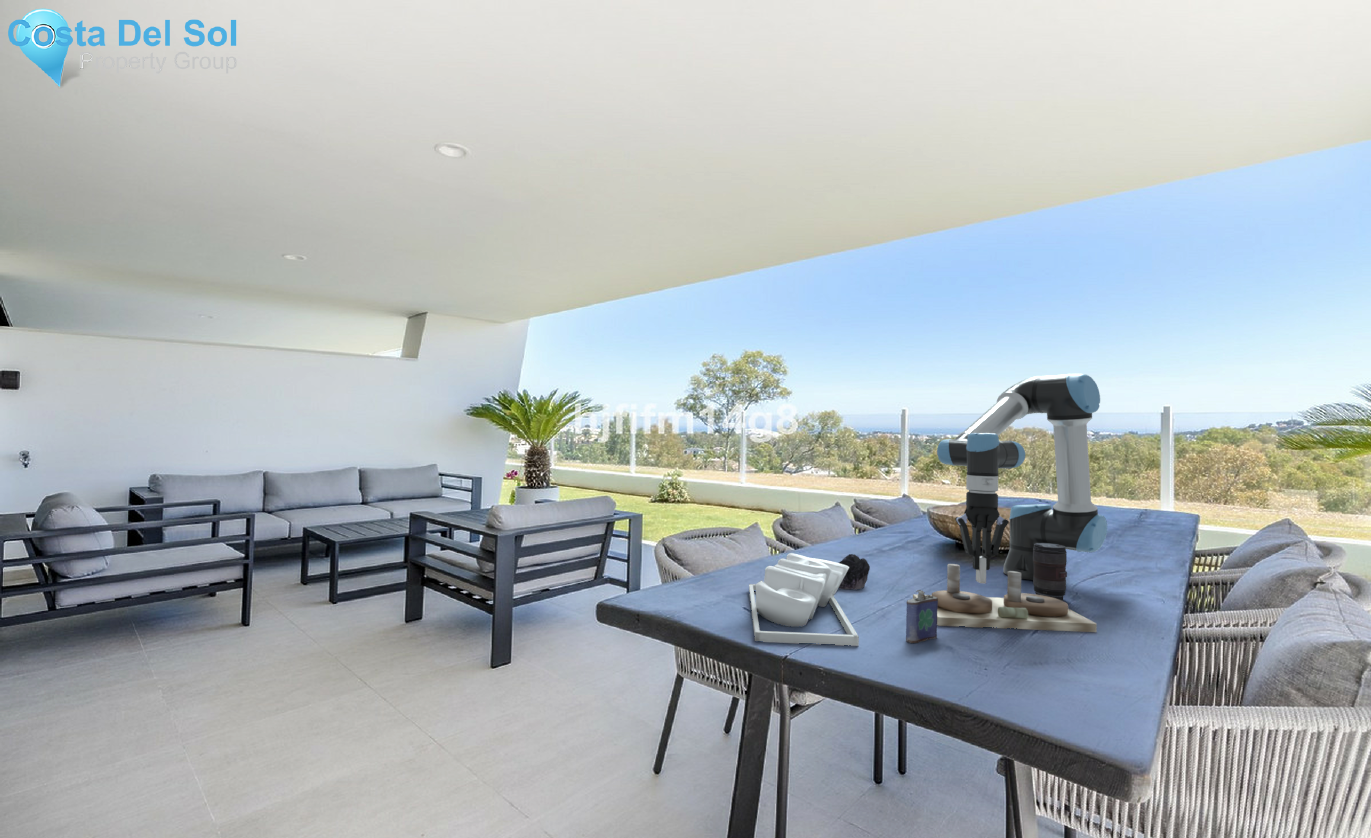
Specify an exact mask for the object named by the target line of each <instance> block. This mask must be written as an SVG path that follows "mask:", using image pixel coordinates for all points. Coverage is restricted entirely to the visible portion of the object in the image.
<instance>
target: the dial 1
mask: <svg viewBox="0 0 1371 838" xmlns="http://www.w3.org/2000/svg"><path fill="white" fill-rule="evenodd" d="M946 567H947V569H946V570H947V571H946V572H947V573H946V574H947V579H946V581H947V582H946V583H947V584H946V590H937V591H936V590H935V591H934V592H932V593H931V595H932V596H934V597H937V598H938V607H940V608H943V609H947V610H951V611H956V612H963V613H987V612H990V611H991V610H992V600H991V599H989V598H987V597H988V596H984V595H981V594H979V593H974V592H969V591H962V590H960V589H961V586H960V585H961V584H960V583H961V581H960V580H961V576H960V575H961V565H960V564H957V563H956V564H955V563H948V564H947V566H946Z"/></svg>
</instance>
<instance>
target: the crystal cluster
mask: <svg viewBox="0 0 1371 838" xmlns="http://www.w3.org/2000/svg"><path fill="white" fill-rule="evenodd" d="M838 563H840V564H843V565H846V566H848V567H849V569H848V571H847V573H846V575H845V576H844V578H843V580H842V582H841V584H840V586H839V587H838V588H839V589H838V590H857V589H860V590H862V589H864V588H865V586H866V583H867V582H868V575H869V573H870V570H871V567H870V564H869V563H868V560H867V559H866V558H864V557H862V558H860V557H859V556H858V555H856V554H853V553H851V554H847V556H845V557H844V558H842V560H840V561H839V562H838ZM863 587H864V588H863ZM861 588H862V589H861Z"/></svg>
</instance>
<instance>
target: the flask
mask: <svg viewBox="0 0 1371 838" xmlns="http://www.w3.org/2000/svg"><path fill="white" fill-rule="evenodd" d="M915 592H916V593H917V592H918V594H916V595H917V596H918V598H914V599H913V598H910V599H908V600H907V601H906V615H905V616H906V624H905V626H906V629H905V642H906V643H910V644H913V643H914V644H918V643H923V642H926V641H927V640H928V641H930V640H934V639H937V637H938V632H937V630H938V629H937V627H938V625H937V610H938V598H937V597H934V596H931V595H932V594H926V592H924V590H922V589H917V590H916V591H915Z"/></svg>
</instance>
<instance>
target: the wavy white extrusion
mask: <svg viewBox="0 0 1371 838" xmlns="http://www.w3.org/2000/svg"><path fill="white" fill-rule="evenodd" d="M848 569H849V567H848V566H846V565H843V564H840V563H839V562H837V561H831V560H826V559H822V558H821V559H820V558H817V557H816V558H815V557H813V558H812V557H808V556H805V555H802V554H797V553H793V552H790V553H788V554H787V555H786V559H785V558H780V559H779V560H777V564H775V565H773V566H772V565H768V566H766V567H765V569H764V578H763V580H760V581H759V582H757V583H755V584H756V592H755V603H756V610H757V615H759V616H761V617H762V618H764V619H766V620H767V621H769V622H772V623H773V622H774V623H773V624H776V623H777V625H779V624H781V625H780V626H784V625H785V627H790V626H791V627H792V628H797V627H798V628H800V627H799V626H801V627H804V625H805V626H806V625H807V624H808V621H809V620H808V619H812V620H813V618H814V615H815V612H816V609H817V608H818V607H821V608H825V607H827V606H828V603H829V602H830V601H829V599H830V597H831V595H832V596H834V597H835V595H836V593H837V591H838V590H839V589H838V587H839V586H840V584H841V582H842V580H843V578H844V576H845V575H846V573H847V571H848ZM828 601H829V602H828Z"/></svg>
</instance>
